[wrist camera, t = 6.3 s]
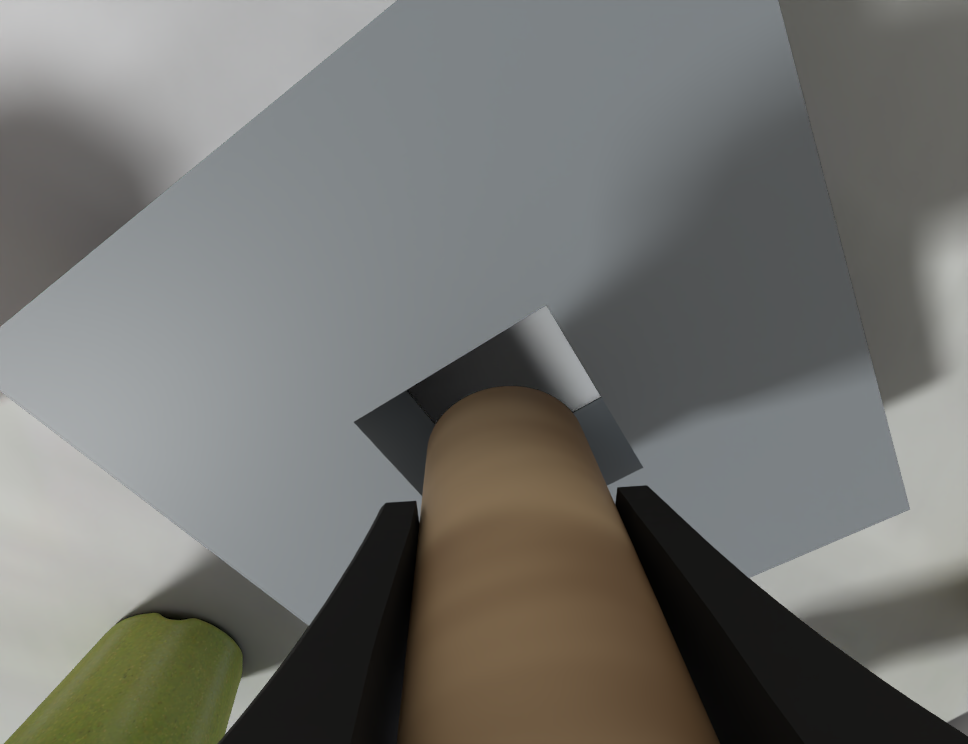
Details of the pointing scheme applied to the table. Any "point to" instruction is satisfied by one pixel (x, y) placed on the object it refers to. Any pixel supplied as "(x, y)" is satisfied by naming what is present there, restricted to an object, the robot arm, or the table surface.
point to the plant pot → (143, 688)
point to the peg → (533, 594)
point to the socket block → (482, 287)
